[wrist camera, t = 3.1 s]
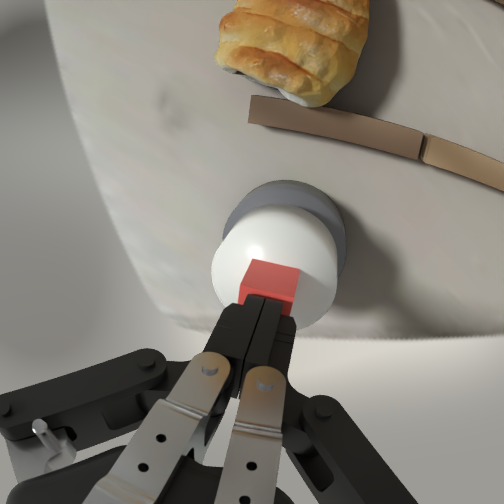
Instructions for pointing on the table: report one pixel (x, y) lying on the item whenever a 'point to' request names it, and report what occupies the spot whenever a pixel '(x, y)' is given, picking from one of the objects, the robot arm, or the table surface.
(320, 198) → the button base
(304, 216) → the dome button
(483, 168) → the track
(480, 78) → the table surface
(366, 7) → the pastry
